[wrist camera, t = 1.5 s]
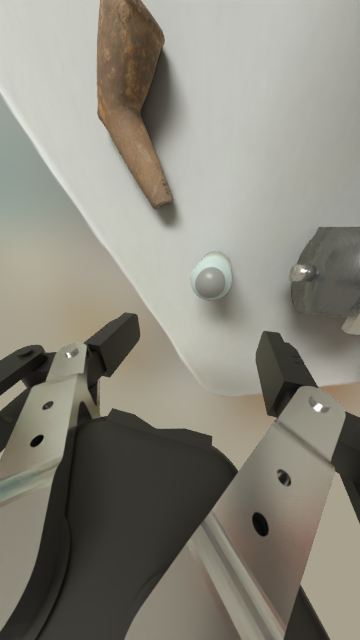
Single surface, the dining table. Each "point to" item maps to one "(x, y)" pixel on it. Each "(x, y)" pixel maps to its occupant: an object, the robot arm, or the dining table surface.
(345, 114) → the dining table surface
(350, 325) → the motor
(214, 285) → the domed pale cylinder
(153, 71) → the pipe
